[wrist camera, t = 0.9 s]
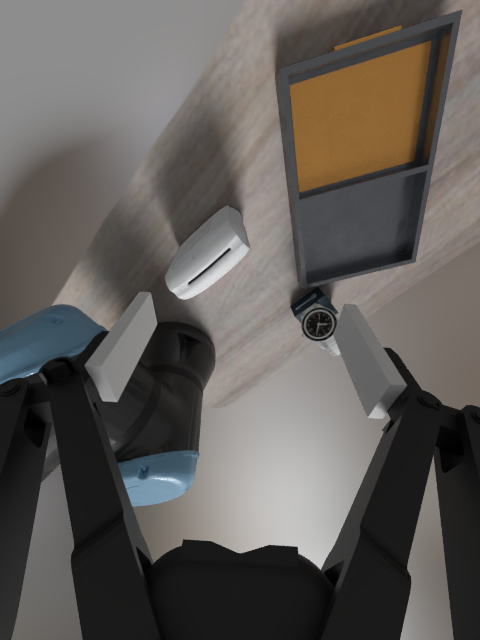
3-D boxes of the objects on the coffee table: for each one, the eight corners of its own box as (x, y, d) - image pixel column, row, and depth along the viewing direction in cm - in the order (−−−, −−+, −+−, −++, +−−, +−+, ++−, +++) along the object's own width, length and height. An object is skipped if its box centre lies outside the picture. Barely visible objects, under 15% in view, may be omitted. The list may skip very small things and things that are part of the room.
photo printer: (195, 270, 36) (184, 314, 26) (174, 249, 34) (153, 287, 24) (248, 225, 33) (260, 254, 23) (228, 198, 31) (231, 217, 21)
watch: (311, 278, 38) (339, 315, 29) (336, 309, 41) (367, 351, 32) (283, 300, 40) (300, 341, 31) (309, 327, 43) (332, 372, 34)
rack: (298, 280, 38) (303, 289, 35) (274, 73, 25) (280, 63, 22) (402, 255, 37) (415, 262, 34) (437, 21, 23) (463, 4, 21)
